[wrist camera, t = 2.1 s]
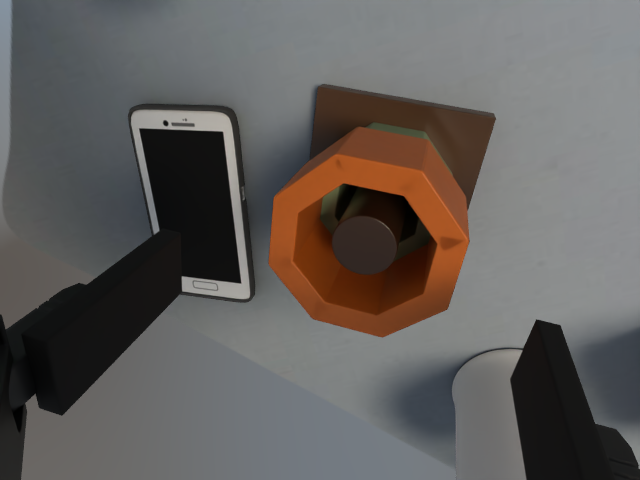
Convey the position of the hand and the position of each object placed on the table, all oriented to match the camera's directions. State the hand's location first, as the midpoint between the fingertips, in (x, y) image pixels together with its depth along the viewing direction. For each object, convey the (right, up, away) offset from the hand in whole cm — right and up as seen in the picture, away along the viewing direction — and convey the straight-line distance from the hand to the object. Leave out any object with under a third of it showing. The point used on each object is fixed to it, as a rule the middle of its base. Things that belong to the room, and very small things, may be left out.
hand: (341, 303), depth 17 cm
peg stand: (+4, +6, +12) cm, 14 cm away
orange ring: (+2, +4, +7) cm, 9 cm away
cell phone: (-10, +5, +17) cm, 20 cm away
